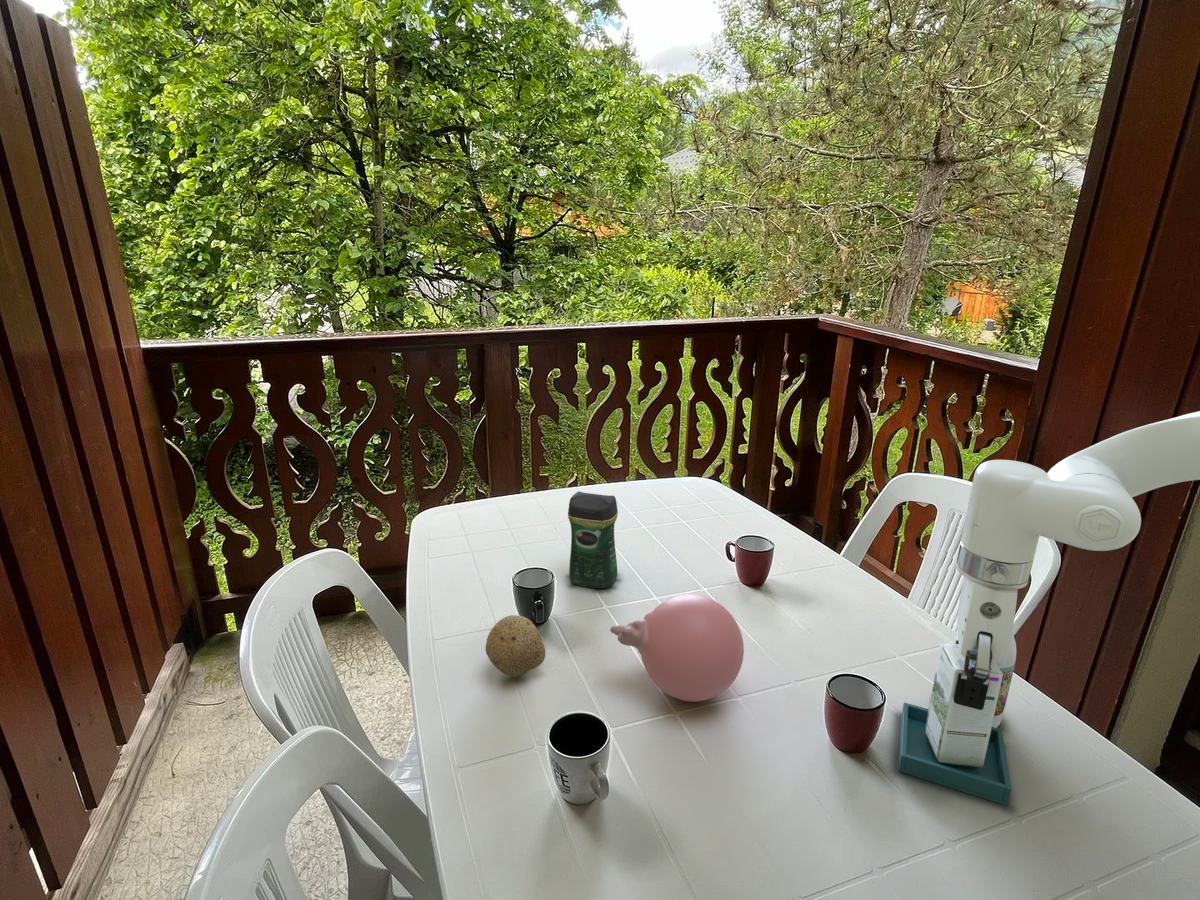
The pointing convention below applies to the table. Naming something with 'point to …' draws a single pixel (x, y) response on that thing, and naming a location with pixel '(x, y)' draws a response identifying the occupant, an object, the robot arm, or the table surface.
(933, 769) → the tray
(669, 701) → the table surface
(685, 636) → the balloon
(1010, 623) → the robot arm
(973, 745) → the syrup box
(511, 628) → the natural sponge
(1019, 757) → the table surface
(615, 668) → the table surface
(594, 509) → the coffee jar
